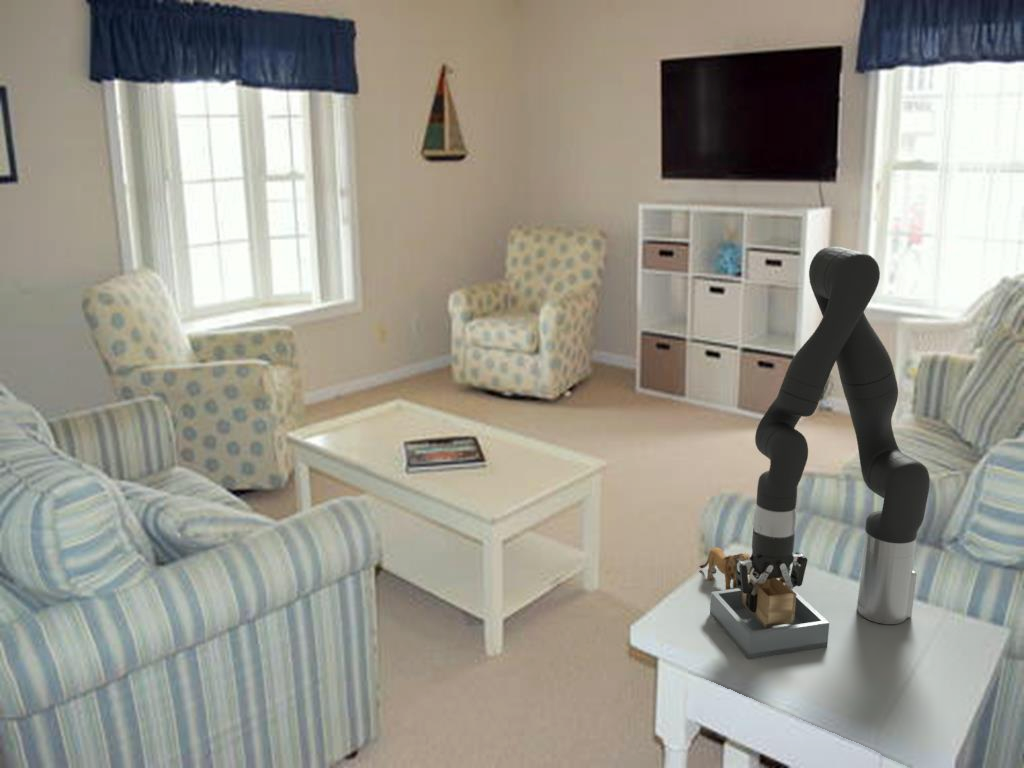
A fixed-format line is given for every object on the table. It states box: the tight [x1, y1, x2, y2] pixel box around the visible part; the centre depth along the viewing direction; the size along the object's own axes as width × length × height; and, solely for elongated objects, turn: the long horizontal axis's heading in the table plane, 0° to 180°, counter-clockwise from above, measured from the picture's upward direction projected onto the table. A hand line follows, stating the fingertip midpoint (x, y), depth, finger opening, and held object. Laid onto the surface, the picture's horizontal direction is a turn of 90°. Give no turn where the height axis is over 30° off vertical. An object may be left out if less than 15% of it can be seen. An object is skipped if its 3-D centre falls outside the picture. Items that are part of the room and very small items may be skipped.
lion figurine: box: [698, 547, 753, 590], centre depth 192 cm, size 15×5×9 cm, turn 32°
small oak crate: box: [742, 575, 797, 627], centre depth 173 cm, size 6×9×6 cm, turn 14°
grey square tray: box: [709, 588, 830, 660], centre depth 175 cm, size 16×16×5 cm
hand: (767, 607), depth 174 cm, fingers closed on small oak crate, 6 cm apart
